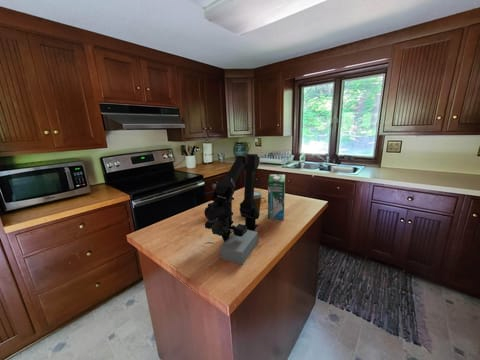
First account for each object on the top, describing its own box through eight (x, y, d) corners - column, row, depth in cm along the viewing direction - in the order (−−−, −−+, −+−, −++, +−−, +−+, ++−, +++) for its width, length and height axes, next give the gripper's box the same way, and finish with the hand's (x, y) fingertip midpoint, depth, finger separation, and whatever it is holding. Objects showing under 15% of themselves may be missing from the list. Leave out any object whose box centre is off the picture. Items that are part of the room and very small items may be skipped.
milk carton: (267, 218, 121) (268, 177, 115) (269, 212, 129) (269, 173, 123) (283, 220, 119) (284, 177, 113) (284, 213, 127) (285, 174, 121)
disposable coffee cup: (244, 211, 133) (243, 193, 130) (254, 206, 139) (253, 190, 137) (255, 215, 126) (255, 196, 123) (265, 210, 133) (265, 192, 130)
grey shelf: (238, 238, 101) (238, 228, 99) (258, 242, 96) (257, 231, 95) (220, 258, 85) (220, 247, 84) (242, 264, 81) (242, 252, 80)
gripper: (196, 215, 86) (198, 247, 90) (236, 223, 79) (236, 259, 83) (211, 205, 96) (212, 235, 100) (247, 212, 88) (247, 245, 92)
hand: (226, 243), depth 93 cm, fingers closed
